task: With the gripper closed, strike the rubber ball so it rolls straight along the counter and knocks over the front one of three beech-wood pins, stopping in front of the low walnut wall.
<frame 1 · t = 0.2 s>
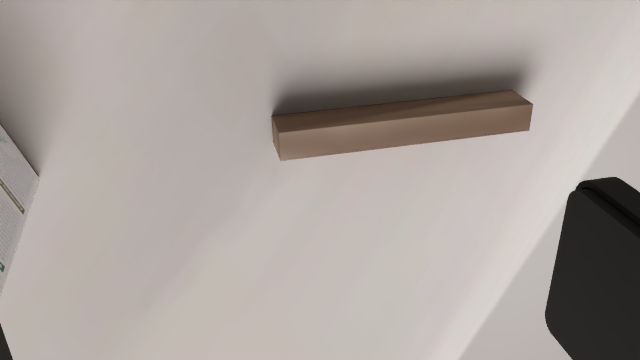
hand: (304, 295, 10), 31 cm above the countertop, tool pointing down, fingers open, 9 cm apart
back wall: (395, 115, 44), on the countertop
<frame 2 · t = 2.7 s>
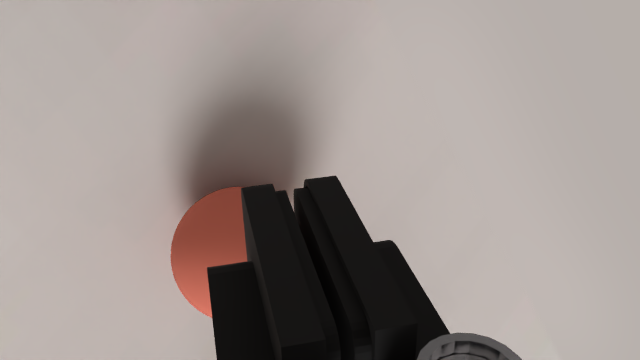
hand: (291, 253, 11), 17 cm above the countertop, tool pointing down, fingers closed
ball: (239, 253, 27), on the countertop
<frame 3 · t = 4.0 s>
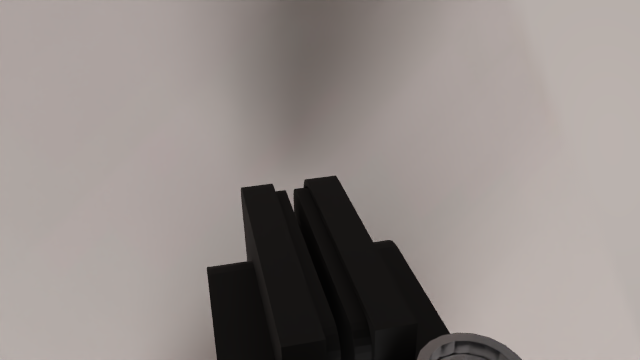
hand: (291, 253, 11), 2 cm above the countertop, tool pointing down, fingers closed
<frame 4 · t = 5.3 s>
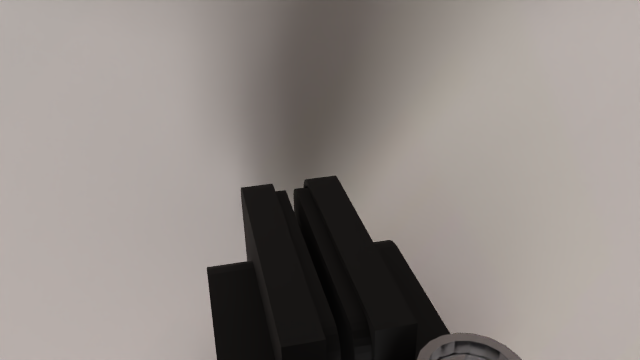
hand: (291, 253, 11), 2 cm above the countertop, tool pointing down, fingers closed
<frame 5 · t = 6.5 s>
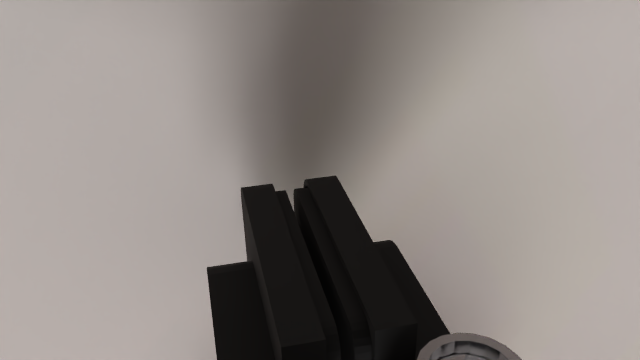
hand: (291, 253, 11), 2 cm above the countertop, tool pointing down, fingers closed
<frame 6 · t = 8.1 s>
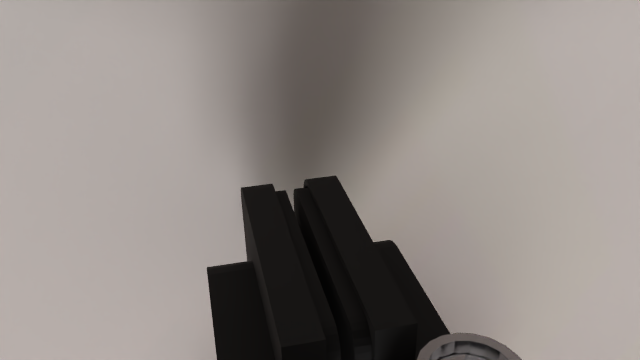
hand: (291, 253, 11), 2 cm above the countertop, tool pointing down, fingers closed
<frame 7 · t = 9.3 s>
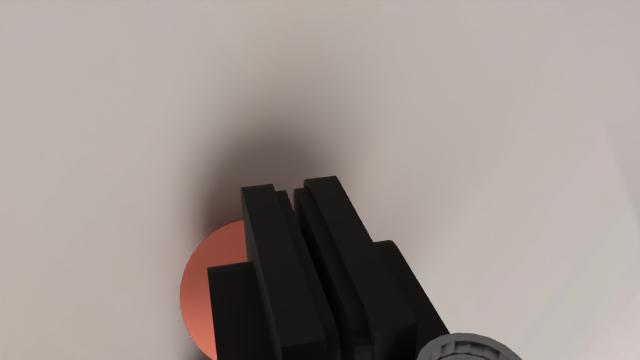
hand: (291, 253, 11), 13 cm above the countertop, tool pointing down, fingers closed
ball: (257, 293, 24), on the countertop
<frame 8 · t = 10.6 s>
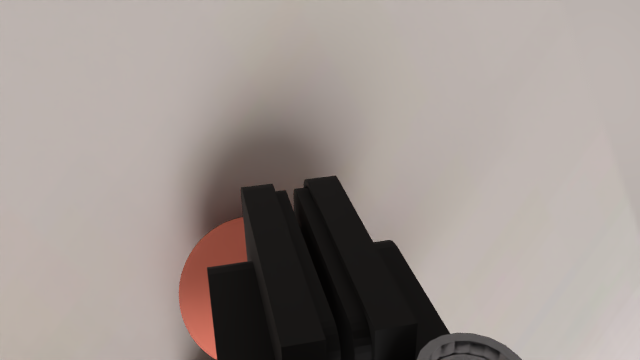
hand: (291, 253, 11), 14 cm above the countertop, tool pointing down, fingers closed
ball: (256, 291, 24), on the countertop
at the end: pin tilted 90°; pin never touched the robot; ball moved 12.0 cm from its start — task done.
